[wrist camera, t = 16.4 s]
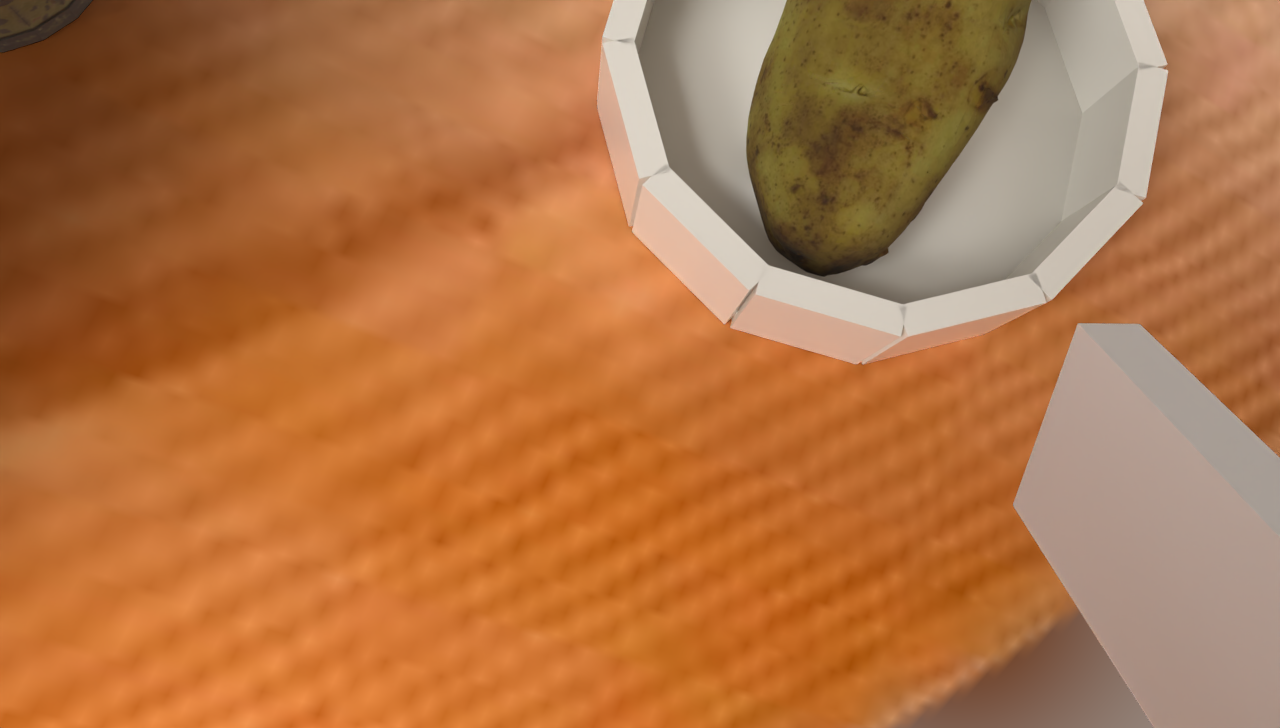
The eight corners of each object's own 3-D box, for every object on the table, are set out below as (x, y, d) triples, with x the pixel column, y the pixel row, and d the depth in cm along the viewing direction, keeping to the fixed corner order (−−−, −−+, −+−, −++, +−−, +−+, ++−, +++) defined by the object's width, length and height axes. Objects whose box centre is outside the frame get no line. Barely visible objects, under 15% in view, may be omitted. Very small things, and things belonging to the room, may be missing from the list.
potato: (639, 165, 33) (663, 47, 26) (861, -79, 36) (945, -254, 28) (825, 320, 33) (909, 247, 25) (1038, 62, 35) (1174, -77, 28)
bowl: (1039, 417, 34) (1110, 397, 29) (543, 273, 33) (541, 232, 29) (1123, -26, 37) (1198, -102, 33) (678, -160, 37) (693, -257, 33)
